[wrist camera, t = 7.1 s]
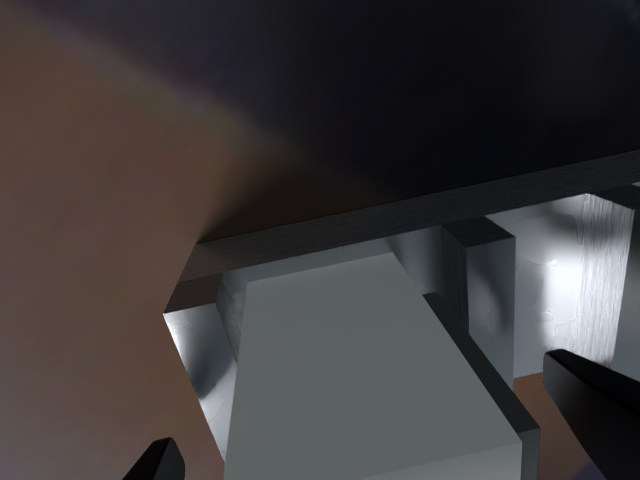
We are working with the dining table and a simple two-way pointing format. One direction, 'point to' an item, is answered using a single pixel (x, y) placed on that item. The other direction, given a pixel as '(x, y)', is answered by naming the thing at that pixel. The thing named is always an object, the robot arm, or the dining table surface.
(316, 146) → the dining table surface
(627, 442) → the robot arm
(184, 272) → the rail
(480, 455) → the matte gray box
